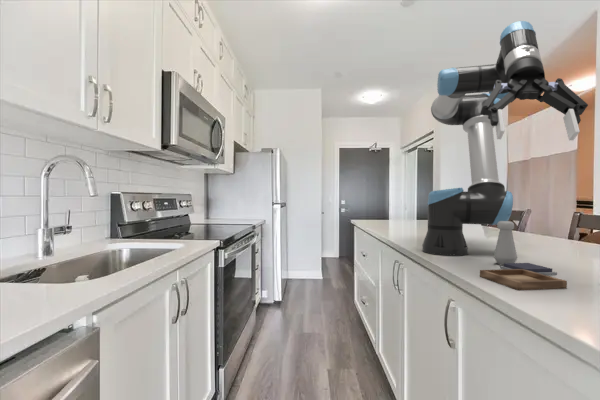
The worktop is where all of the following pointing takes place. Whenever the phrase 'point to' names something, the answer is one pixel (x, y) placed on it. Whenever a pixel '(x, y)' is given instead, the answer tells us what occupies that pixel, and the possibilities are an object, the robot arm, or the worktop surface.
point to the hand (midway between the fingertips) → (536, 135)
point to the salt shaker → (505, 244)
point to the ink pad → (529, 268)
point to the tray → (523, 279)
